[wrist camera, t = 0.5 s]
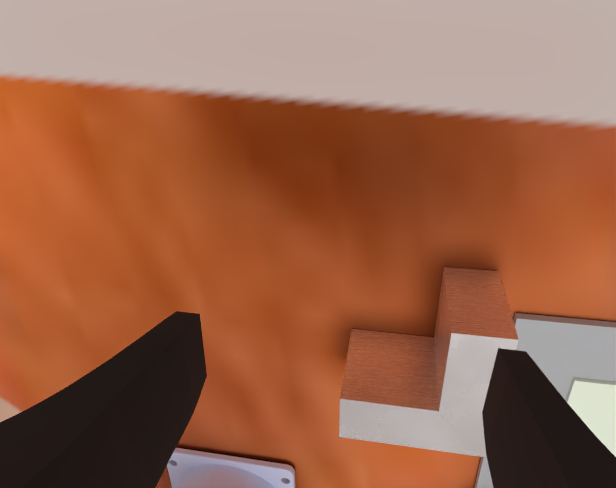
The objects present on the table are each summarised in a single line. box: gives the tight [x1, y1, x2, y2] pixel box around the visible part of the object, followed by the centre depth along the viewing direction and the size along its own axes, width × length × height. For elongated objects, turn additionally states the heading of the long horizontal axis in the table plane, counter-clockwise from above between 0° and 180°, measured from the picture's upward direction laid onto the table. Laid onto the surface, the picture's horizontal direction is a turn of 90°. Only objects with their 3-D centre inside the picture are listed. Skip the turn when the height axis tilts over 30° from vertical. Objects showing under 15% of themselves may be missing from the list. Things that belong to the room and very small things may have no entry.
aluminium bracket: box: [339, 267, 519, 457], centre depth 20 cm, size 6×6×4 cm
